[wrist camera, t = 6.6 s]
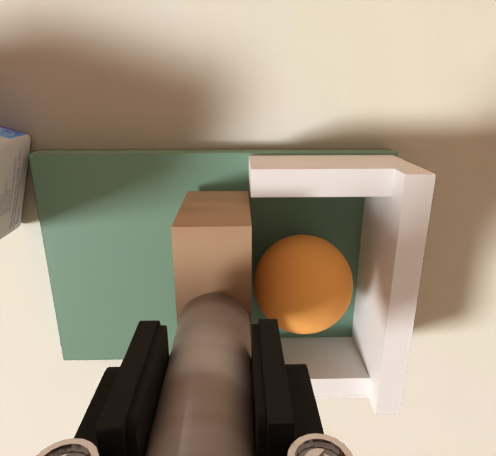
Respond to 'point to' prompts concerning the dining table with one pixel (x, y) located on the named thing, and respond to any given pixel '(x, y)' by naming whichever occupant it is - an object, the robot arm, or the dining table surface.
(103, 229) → the pitch
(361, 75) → the dining table surface
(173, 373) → the striker
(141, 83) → the dining table surface
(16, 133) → the medicine box
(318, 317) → the ball
